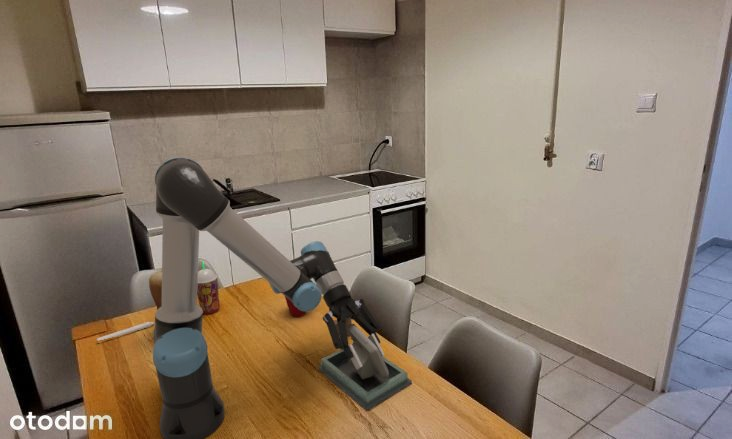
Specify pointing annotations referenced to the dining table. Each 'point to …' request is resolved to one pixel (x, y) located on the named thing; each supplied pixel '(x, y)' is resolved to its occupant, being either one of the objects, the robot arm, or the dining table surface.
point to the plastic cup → (294, 309)
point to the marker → (127, 330)
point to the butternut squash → (156, 287)
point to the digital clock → (366, 354)
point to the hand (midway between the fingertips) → (370, 361)
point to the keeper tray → (363, 380)
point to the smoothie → (208, 291)
